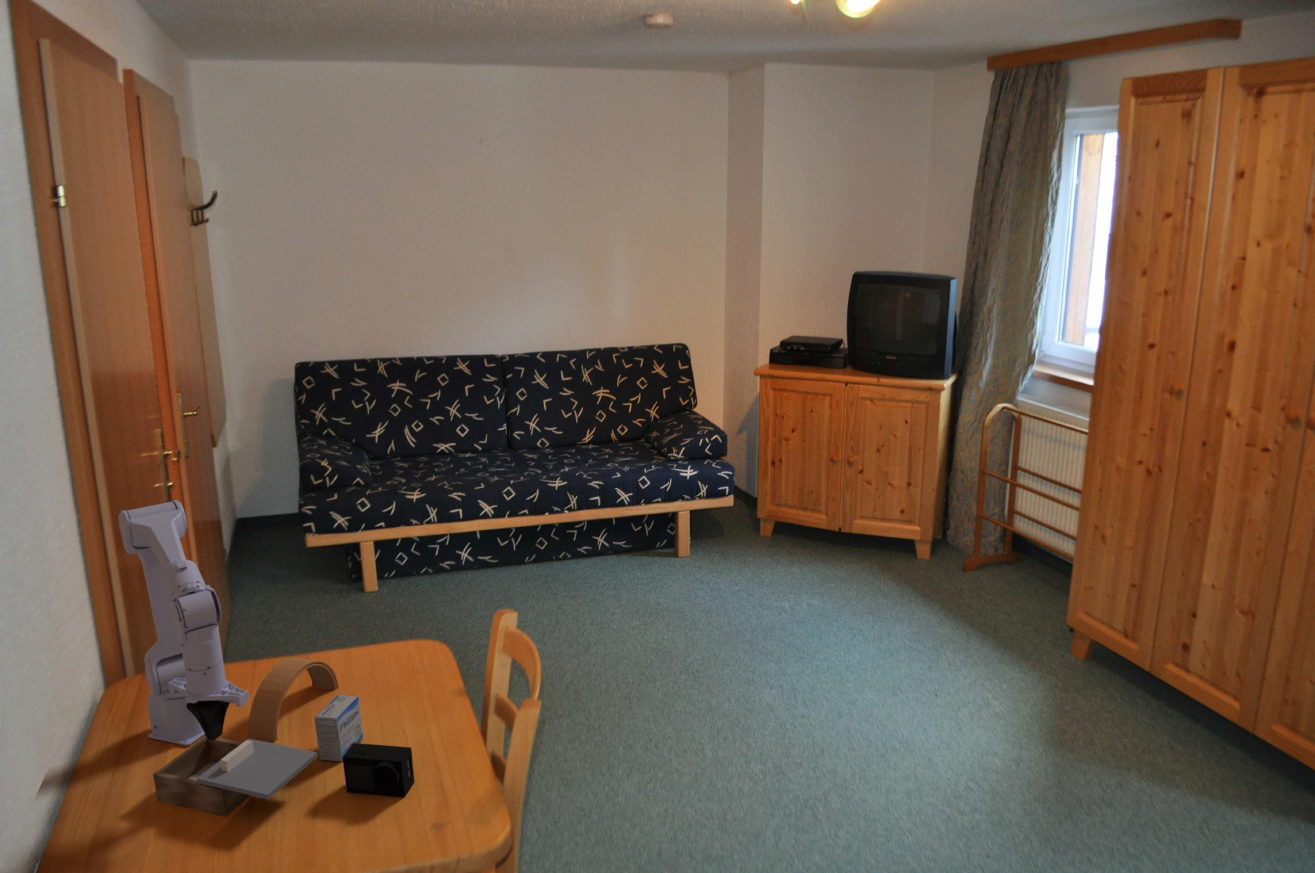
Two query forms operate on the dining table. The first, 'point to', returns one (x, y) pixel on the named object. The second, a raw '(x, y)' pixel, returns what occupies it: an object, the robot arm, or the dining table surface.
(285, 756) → the lid
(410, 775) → the digital camera
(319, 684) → the arch
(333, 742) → the medicine box
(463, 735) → the dining table surface
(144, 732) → the dining table surface
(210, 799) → the box
